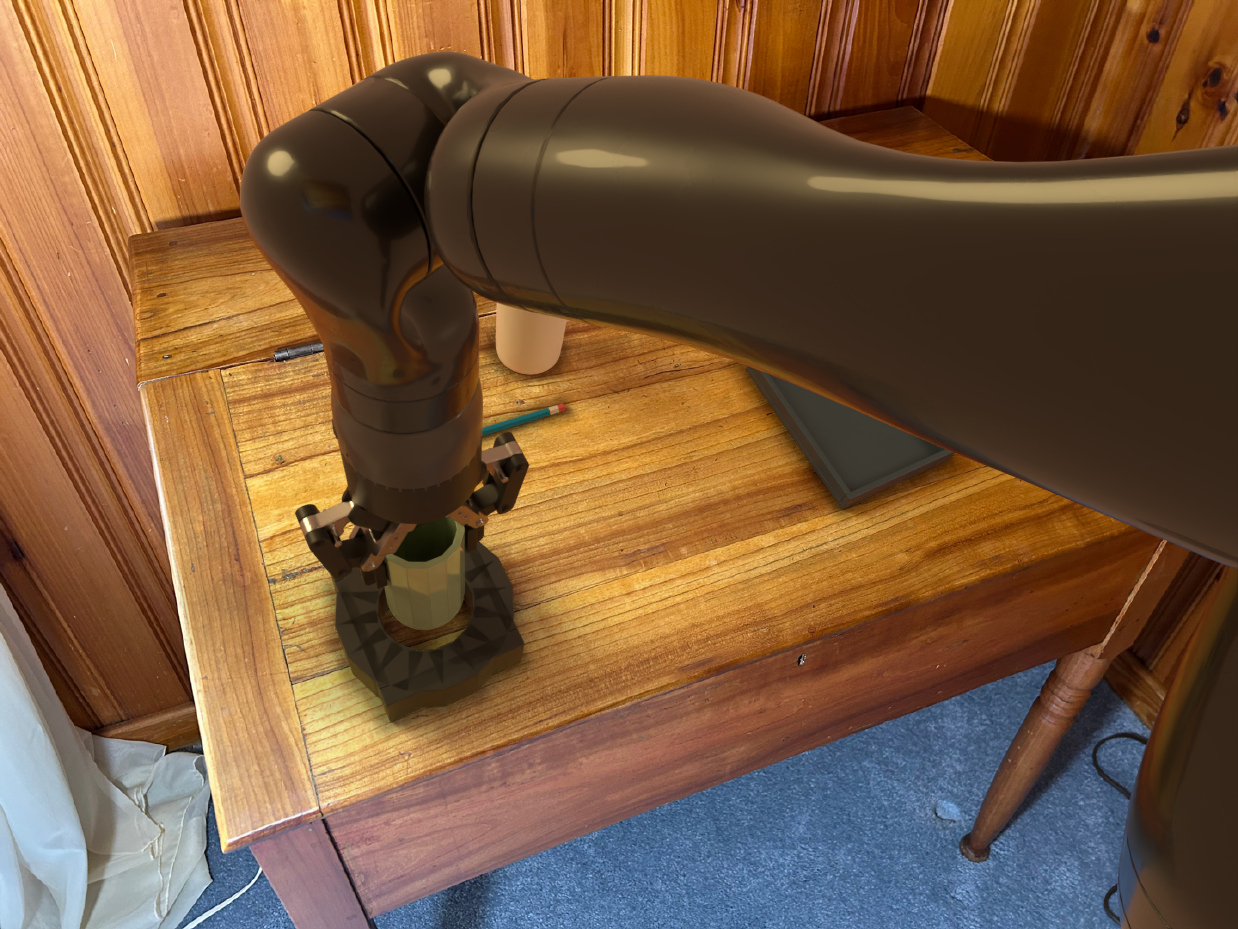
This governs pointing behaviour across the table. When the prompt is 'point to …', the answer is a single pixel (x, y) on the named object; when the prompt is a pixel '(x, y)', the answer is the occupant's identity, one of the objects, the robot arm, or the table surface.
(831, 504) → the table surface
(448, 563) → the cup
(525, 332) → the mug
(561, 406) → the pencil
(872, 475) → the tray
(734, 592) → the table surface
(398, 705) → the dark brown carved ring
